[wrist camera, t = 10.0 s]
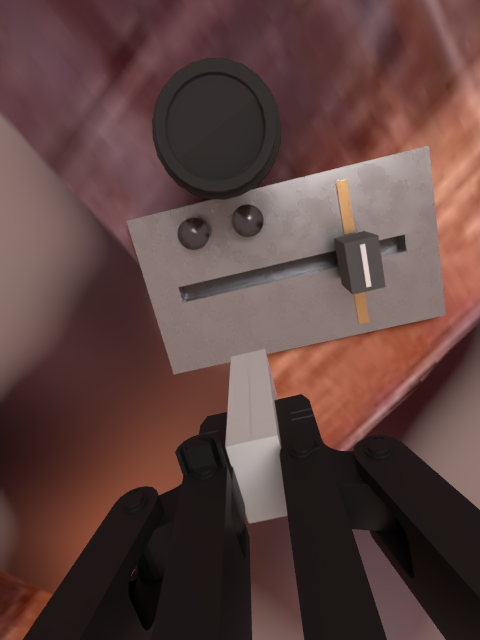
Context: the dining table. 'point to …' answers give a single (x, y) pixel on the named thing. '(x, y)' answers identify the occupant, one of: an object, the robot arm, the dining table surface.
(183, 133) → the coffee cup
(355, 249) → the fader
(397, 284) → the console
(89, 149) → the dining table surface
